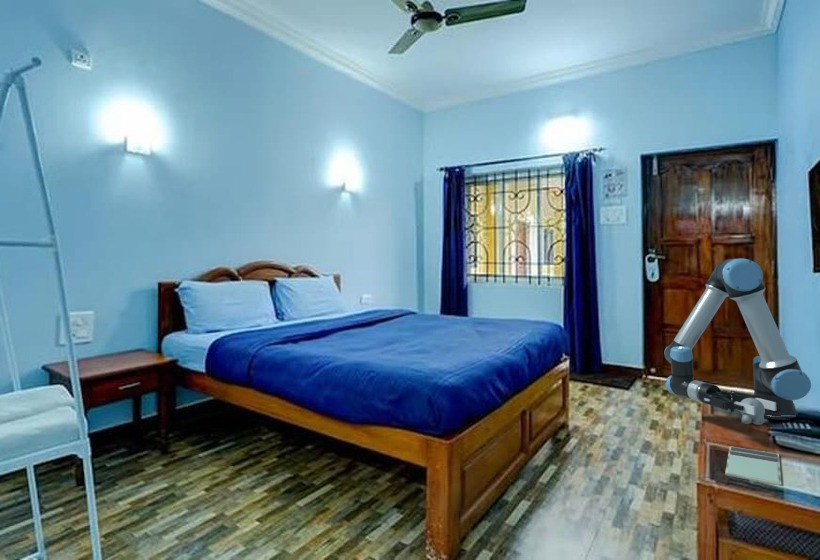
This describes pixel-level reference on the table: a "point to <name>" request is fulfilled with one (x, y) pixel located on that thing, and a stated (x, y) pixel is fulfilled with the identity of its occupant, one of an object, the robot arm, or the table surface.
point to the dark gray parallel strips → (754, 453)
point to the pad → (753, 468)
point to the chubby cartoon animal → (759, 412)
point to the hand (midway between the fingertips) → (764, 408)
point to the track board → (754, 458)
